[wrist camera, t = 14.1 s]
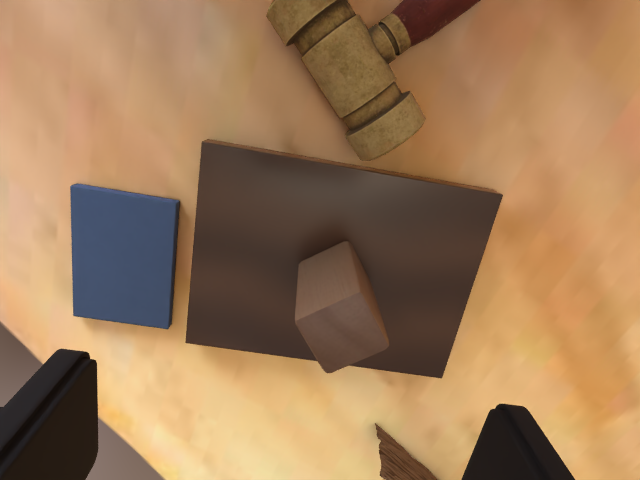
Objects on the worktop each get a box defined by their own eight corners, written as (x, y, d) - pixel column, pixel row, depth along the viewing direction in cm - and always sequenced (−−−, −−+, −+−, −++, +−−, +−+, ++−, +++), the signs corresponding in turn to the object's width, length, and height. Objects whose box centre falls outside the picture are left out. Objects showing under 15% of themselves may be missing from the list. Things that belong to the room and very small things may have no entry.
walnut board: (207, 138, 27) (201, 141, 26) (494, 189, 29) (503, 194, 27) (190, 332, 32) (185, 343, 31) (436, 366, 34) (442, 378, 32)
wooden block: (322, 306, 30) (325, 378, 22) (296, 261, 29) (291, 321, 21) (372, 284, 29) (393, 349, 22) (348, 237, 28) (361, 289, 21)
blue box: (76, 183, 28) (69, 185, 27) (179, 200, 29) (176, 203, 28) (78, 310, 31) (72, 316, 31) (171, 324, 32) (168, 329, 31)
